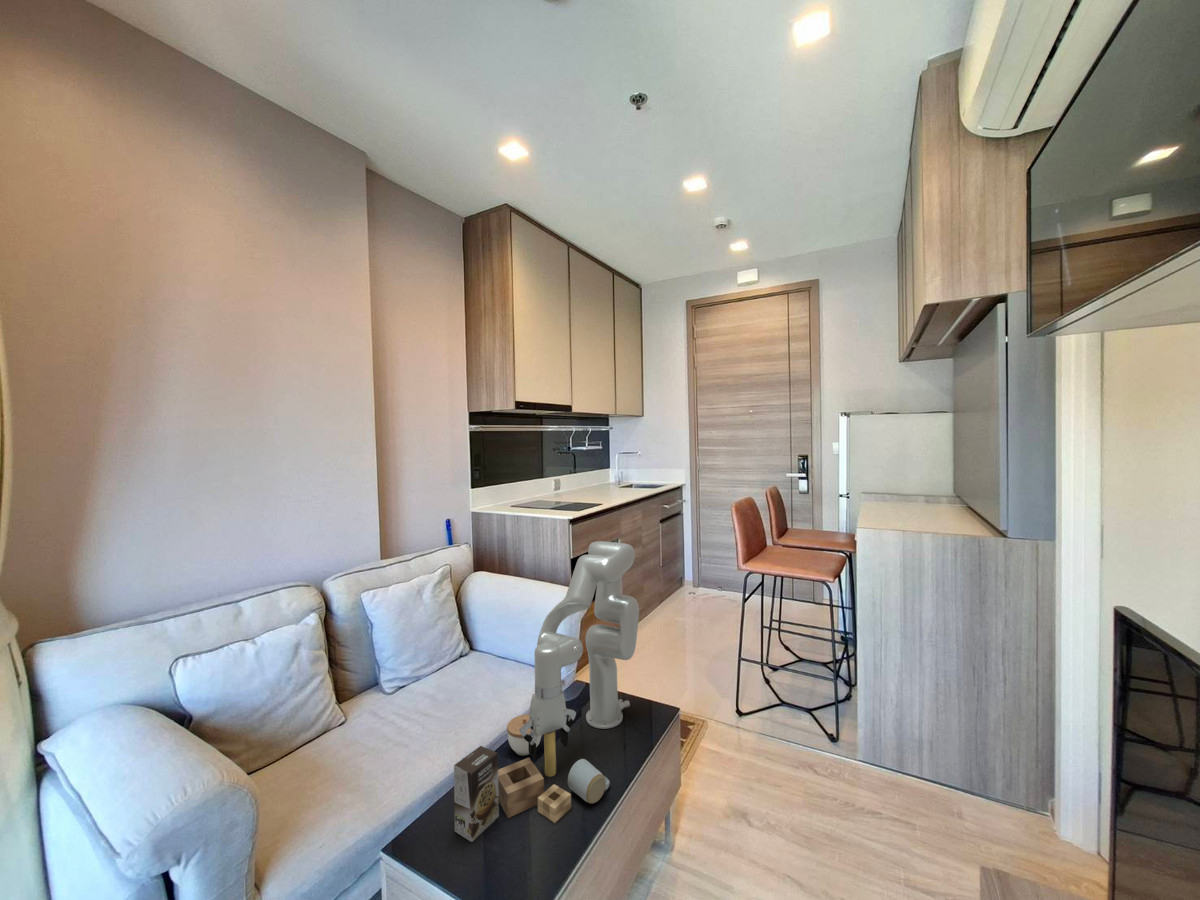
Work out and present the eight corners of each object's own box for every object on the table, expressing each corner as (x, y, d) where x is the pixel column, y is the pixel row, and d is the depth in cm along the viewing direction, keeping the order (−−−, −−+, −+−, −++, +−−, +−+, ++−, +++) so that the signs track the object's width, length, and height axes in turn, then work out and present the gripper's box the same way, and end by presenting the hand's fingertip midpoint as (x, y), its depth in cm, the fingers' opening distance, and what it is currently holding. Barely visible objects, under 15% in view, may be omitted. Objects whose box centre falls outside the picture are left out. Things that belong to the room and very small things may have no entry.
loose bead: (554, 797, 120) (554, 784, 120) (571, 807, 116) (570, 794, 117) (537, 811, 116) (537, 797, 116) (554, 823, 112) (554, 808, 112)
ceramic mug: (587, 811, 115) (587, 781, 115) (567, 795, 121) (566, 765, 121) (616, 790, 122) (616, 761, 123) (595, 775, 128) (595, 748, 129)
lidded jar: (546, 738, 145) (545, 709, 146) (538, 761, 135) (537, 729, 135) (513, 737, 146) (512, 708, 147) (503, 759, 136) (502, 728, 136)
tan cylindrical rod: (553, 767, 132) (552, 720, 132) (558, 773, 129) (556, 725, 129) (543, 771, 130) (541, 724, 130) (547, 778, 127) (546, 729, 128)
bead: (529, 778, 127) (529, 757, 127) (544, 801, 119) (543, 778, 119) (494, 793, 122) (494, 771, 122) (508, 818, 114) (507, 794, 114)
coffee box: (472, 843, 107) (470, 774, 107) (453, 832, 110) (452, 764, 110) (500, 816, 114) (498, 752, 114) (482, 806, 118) (480, 744, 118)
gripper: (568, 676, 138) (569, 733, 137) (514, 691, 129) (515, 753, 128) (580, 686, 131) (581, 746, 131) (524, 703, 122) (525, 768, 122)
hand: (548, 750), depth 129 cm, fingers open, 9 cm apart
